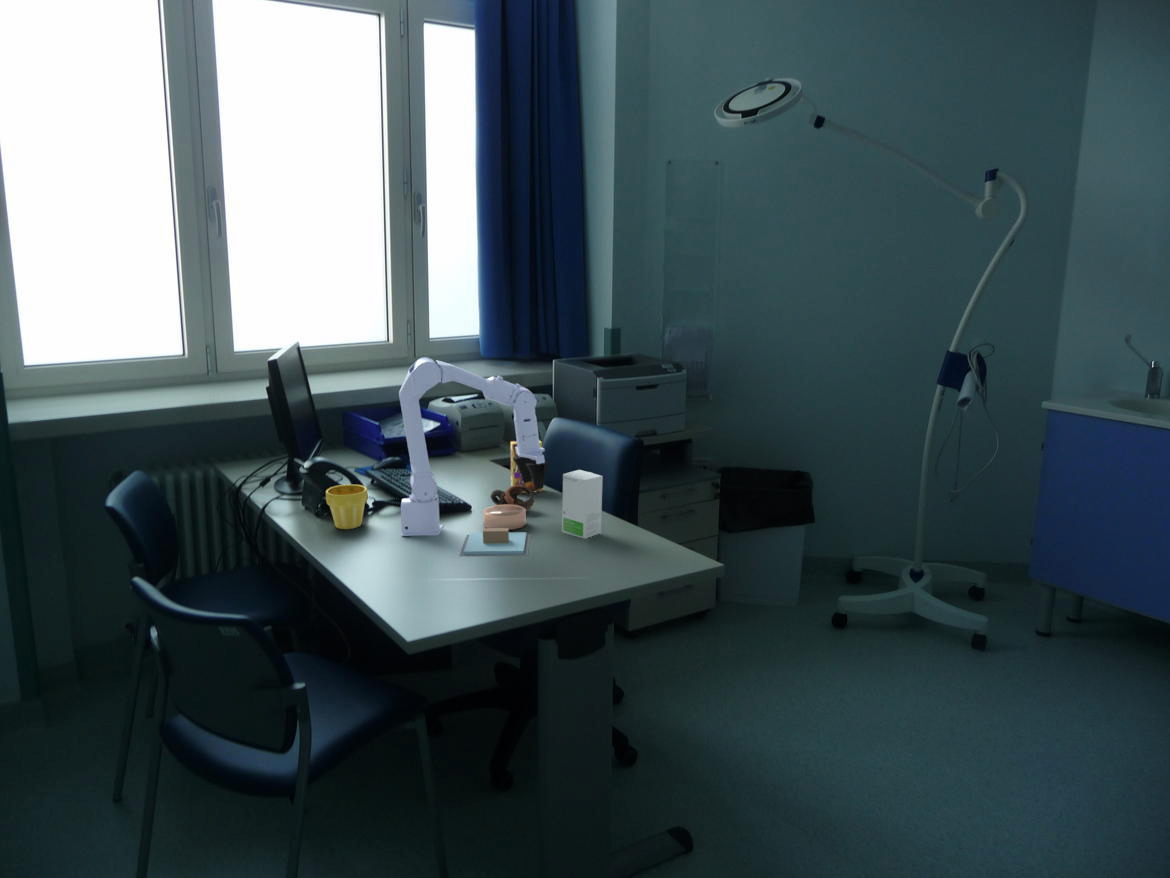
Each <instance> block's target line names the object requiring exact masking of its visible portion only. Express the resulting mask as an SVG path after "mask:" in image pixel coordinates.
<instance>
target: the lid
mask: <svg viewBox="0 0 1170 878" xmlns="http://www.w3.org/2000/svg"><path fill="white" fill-rule="evenodd" d="M527 534H528V533H527V532H525V531H524V532H523V531H522V532H519V531H517V532H515V531H512V532H511V531H510V530H509V528H486V527H484V528H483V530H482V532H470V533H469V534H468V535H469V538H468V541H467V544H466V547H465V550H464V555H485V554H524V548H525V542H526V535H527Z"/></svg>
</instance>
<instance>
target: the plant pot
mask: <svg viewBox="0 0 1170 878" xmlns="http://www.w3.org/2000/svg"><path fill="white" fill-rule="evenodd" d="M325 500H326V505H328V506H329V509H330V512H331V516H332V518H333V522H334V526H335V528H337V529H339V530H340V529H341V530H351V529H356V528H358V527H360V526H361V525H362V524H363V516H364V512H365V504H366V502H368V487H366V486H365V485H362V484H340V485H335V486H330V487H329V488H327V489H326V490H325Z"/></svg>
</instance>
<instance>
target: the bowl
mask: <svg viewBox="0 0 1170 878" xmlns="http://www.w3.org/2000/svg"><path fill="white" fill-rule="evenodd" d="M482 518H483V519H482V523H483V527H484V528H509V531H510V530H517V529H520V528H524V527H525V526H526V525H527V510H526V509H525V508H524V507H522V506H518V505H496V504H495V505H491V506H488V507H486V508H484V509H483V510H482Z"/></svg>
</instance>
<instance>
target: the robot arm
mask: <svg viewBox="0 0 1170 878" xmlns="http://www.w3.org/2000/svg"><path fill="white" fill-rule="evenodd" d="M439 382H441V383H442V384H446V383H449V382H456V383H459V384H462V385H464V386H468V387H470V388H474V389H476V390H479V391H481V392H482V393H483V396H484V398H486V399H488V400H491V401H494V402H496V403H498V404H501V405H505V406H507V407H511V406H512V407H513V417H514V418H513V422H514V431H515V437H516V441H517V447H515V449H516V454H518V455H517V456H516V457H513V460H514V462H515V463H516V465H517V467H518V469H519V471H520V474H521V477H522V479H523V482H524V483H527V482H531V481H532V480H533V484H534V487H535V489H540V488H542V489H543V488H544V485H545V478H546V472H547V468H548V467H549V465H550V463H549V461H548V460H545V455H544V454H543V452H545V450H546V449H545V448H544V447H543V446H542V447H541V448H540V444H539V440H540V437H539V427H538V421H537V420H538V419H537V415H536V406H537V404H538V401H537V399H536V396H535V394H534V393H533V392H532V391H531V390H529V389H528V388H526V387H524V385H523V386H522V385H521V384H519V383H518V382H517V383H511V382H509V381H506V380H504V377H503V376H502V375H501V376H500V375H497V377H496V376H490V377H488V378H485V377H482V376H480V375H477V374H475V373H473V372H470V371H468V370H466V369H464V368H461V367H459V366H456V365H454V364H452V363H448V362H445V361H441V360H437V359H436V360H434V359H432V358H430V357H425V356H424V357H420V358H418V359H417V360H416V361H415V362H414V363H413V364H412V365H411V366H410V367H409V368H408V371H407V374H406V375H405V378H404V381H403V383H402V384H401V387H400V389H399V391H398V398H399V403H400V408H401V414H402V420H403V426H404V431H405V438H406V443H407V450H408V455H409V456H408V457H409V461H410V467H411V474H410V476H409V484H410V486H411V493H410V495H409V497H405V498H402V499H401V503H400V522H401V523H400V526H401V536H402V537H411V536H439V535H440V533H441V532H442V529H443V528H444V525H443V524H440V504H439V503H440V502H439V495H438V485H437V484H438V483H437V482H436V480H435V479H436V478H435V475H434V473H433V472H432V471H431V466H430V461H429V455H428V449H427V442H426V437H425V430H424V426H423V419H422V413H421V406H420V399H421V398H422V397H423V396H424V394H426V392H427V391H428V390H430V389H432V388H433V387H435V386H436V385H437V384H438V383H439Z"/></svg>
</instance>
